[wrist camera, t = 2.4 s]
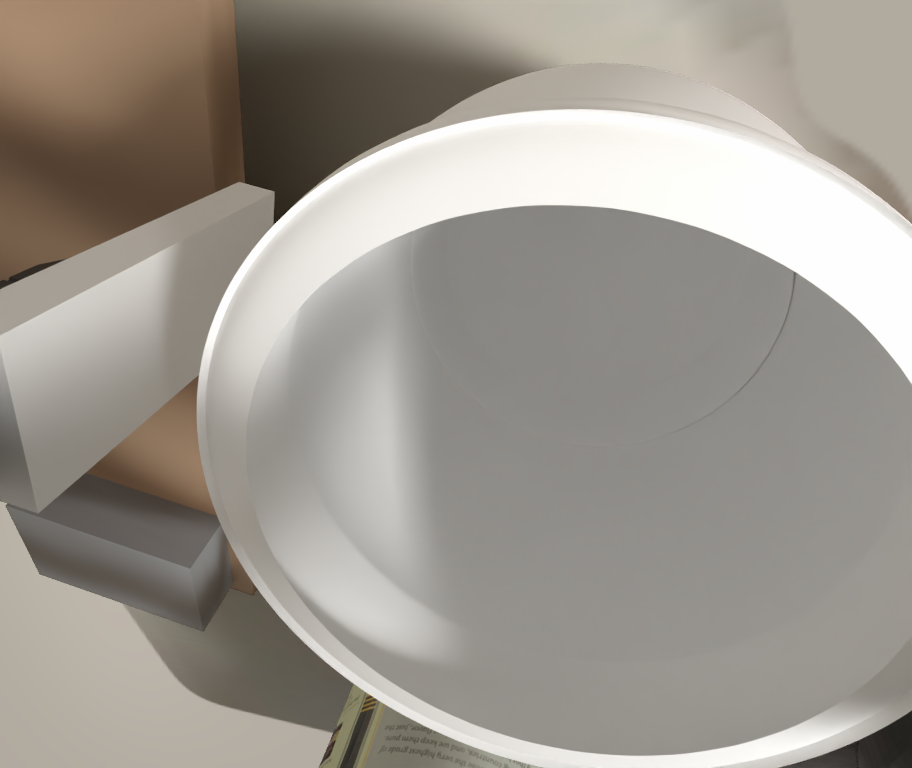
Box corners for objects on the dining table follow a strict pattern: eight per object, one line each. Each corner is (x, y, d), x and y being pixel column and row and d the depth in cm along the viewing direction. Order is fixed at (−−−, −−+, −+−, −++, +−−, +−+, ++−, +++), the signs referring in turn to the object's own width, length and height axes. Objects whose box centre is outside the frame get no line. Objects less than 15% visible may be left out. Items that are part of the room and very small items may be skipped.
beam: (-212, -302, 13) (-467, -353, 10) (221, -206, 12) (79, -233, 9) (84, 506, 32) (23, 573, 29) (268, 569, 31) (225, 644, 28)
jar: (813, 302, 20) (1129, 759, 8) (530, 406, 25) (431, 809, 12) (693, -33, 17) (909, -210, 4) (387, 157, 21) (37, 353, 9)
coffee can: (595, 699, 32) (579, 1092, 20) (405, 673, 35) (293, 1009, 23) (594, 549, 28) (571, 950, 16) (374, 531, 30) (210, 864, 18)
